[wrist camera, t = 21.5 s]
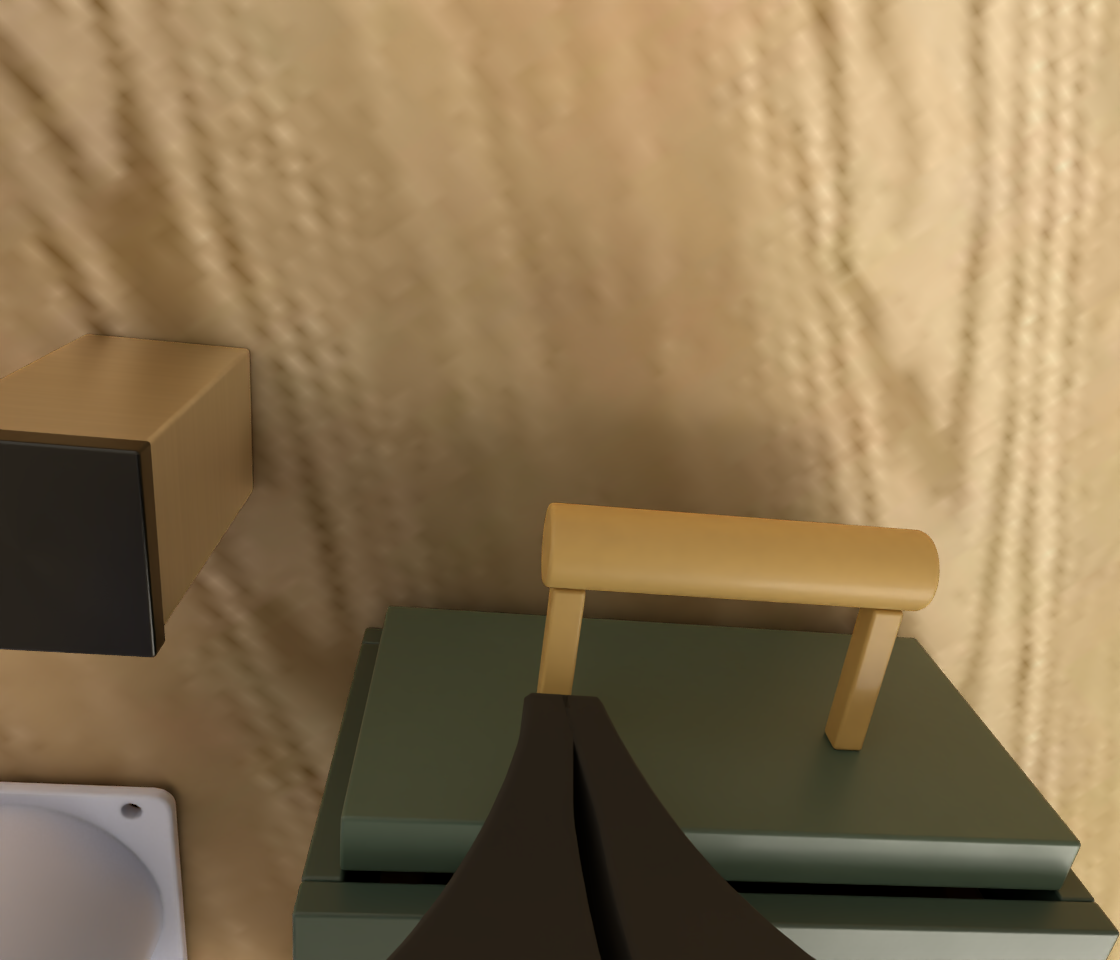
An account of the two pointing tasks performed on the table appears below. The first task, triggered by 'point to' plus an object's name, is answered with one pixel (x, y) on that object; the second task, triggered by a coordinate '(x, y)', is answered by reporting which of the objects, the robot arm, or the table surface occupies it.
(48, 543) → the metal-capped square post
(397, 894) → the cabinet
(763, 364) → the table surface
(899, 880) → the drawer
